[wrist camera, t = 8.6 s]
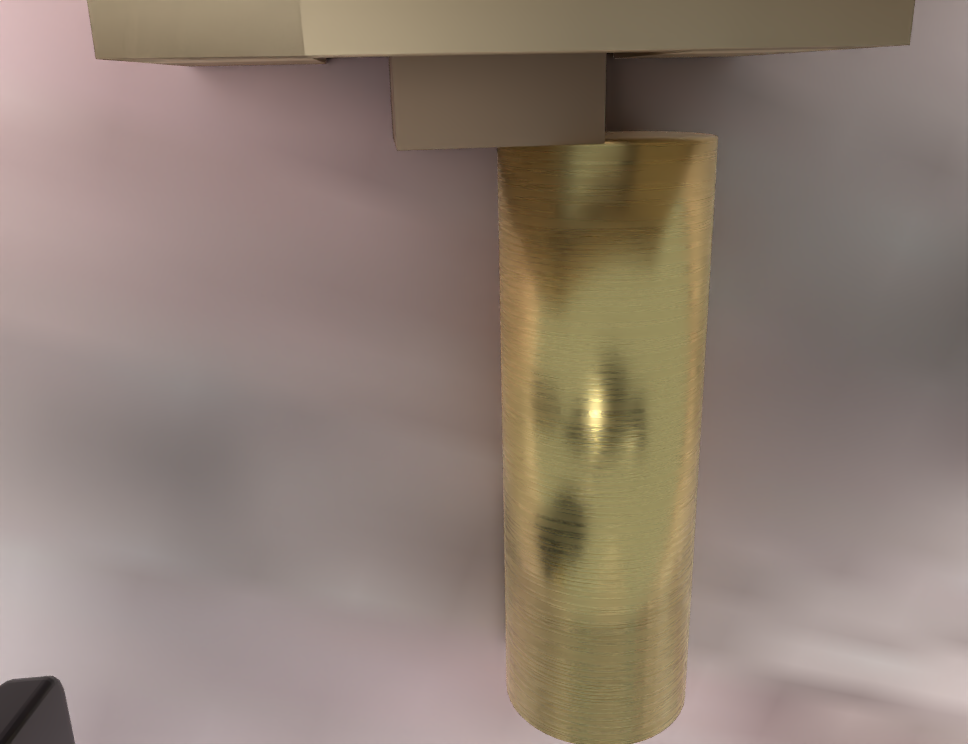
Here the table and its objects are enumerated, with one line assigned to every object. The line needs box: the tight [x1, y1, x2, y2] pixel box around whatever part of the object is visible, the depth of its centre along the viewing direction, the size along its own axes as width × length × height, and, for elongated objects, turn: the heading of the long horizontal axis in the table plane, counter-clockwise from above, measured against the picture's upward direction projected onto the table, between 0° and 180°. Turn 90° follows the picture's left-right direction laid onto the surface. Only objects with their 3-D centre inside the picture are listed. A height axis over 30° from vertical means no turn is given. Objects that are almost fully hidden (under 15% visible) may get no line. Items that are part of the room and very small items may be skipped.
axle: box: [497, 131, 718, 744], centre depth 14 cm, size 9×3×3 cm
